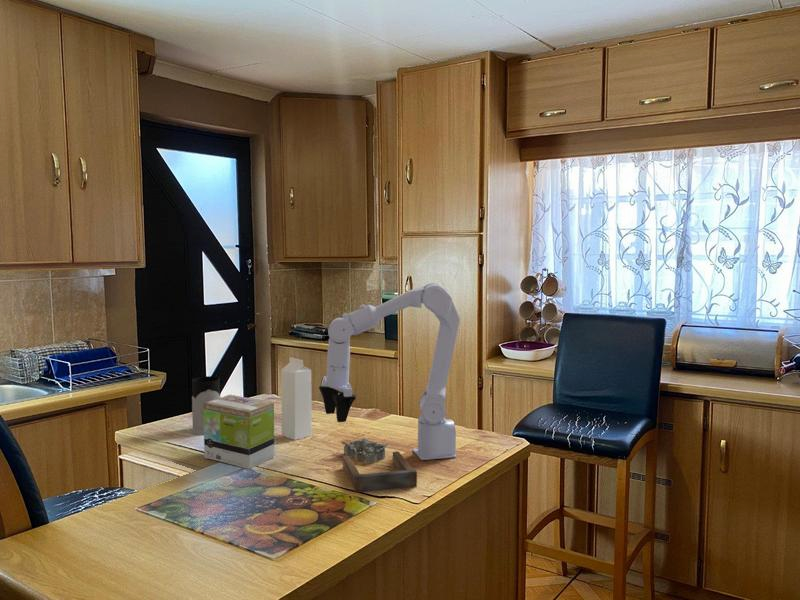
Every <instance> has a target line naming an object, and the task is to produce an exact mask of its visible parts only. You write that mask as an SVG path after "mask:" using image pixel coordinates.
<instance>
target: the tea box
mask: <svg viewBox="0 0 800 600" xmlns="http://www.w3.org/2000/svg"><path fill="white" fill-rule="evenodd" d="M203 407H204V408H203V412H204V435H203V443H204V444H203V445H204V448H203V449H204V458H205V459H208V460H212V461H218V462H222V463H225V464H229V465H232V466H236V467H240V468H243V469H246V470H250V469H252V468H254V467H257V466H259V465H262V464H263V463H265V462H267V461H269V460H271V459H273V458H274V457H275V402H272V401H267V400H261V399H257V398H256V399H255V398H250V397H244V396H241V395H240V396H239V395H235V394H234V395H233V394H228V395H225V396H222V397H221V398H218V399H215V400H212V401H209V402H206V403H203Z"/></svg>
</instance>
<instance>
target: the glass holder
mask: <svg viewBox="0 0 800 600" xmlns="http://www.w3.org/2000/svg"><path fill="white" fill-rule="evenodd" d="M220 379H221V378H220V377H218V376H214V375H213V376H210V375H209V376H199V377H195V378H192V380H191V382H192V384H191V385H192V386H191V387H192V396H191V403H192V404H191V410H192V411H191V412H192V413H191V415H192V427H191V431H190V432H191V434H194V435H197V436H198V435H199V436H204V412H203V408H204V407H203V403H206V402H209V401H212V400H215V399H218V398H221V396H222V395H221V387H220V385H221V384H220Z"/></svg>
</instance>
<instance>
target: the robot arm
mask: <svg viewBox="0 0 800 600" xmlns="http://www.w3.org/2000/svg"><path fill="white" fill-rule="evenodd" d="M422 304H423V306H424V307H425V308H426V309H427V310H429V312H431V313H433V314H434V316H435V317H436V319H438V321H439V326H438V327H439V328H438V331H437V336H436V341H435V347H434V351H433V356H432V361H431V366H430V370H429V376H428V380H427V383H426V386H425V388H424V389H425V390H424V392H423V393H422V394H421V396H420V398H419V401H418V406H419V408H420V413H421V414H420V415H419V417H418V418H417V447H415V448H412V451H413V452H414V454H415V455H416V456H417V457H418V458H419V459H420V460H421V461H425V460H426V461H427V460H436V459H437V460H439V459H451V458H457V454H456V452H457V451H456V448H457V447H456V444H457V443H456V440H457V432H456V431H457V430H456V424H455V422H454V421H453V419H447V418H446V415H447V408H446V404H445V403H446V402H445V401H446V391H447V390H446V389H447V382H448V379H449V374H450V369H451V365H452V360H453V355H454V351H455V346H456V345H455V344H456V341H457V335H458V332H459V331H458V330H459V326H460V315H459V313H458V311H457V309H456V306H455V304H454V301H453V299H452V297H451V295H450V293H448V292H447V291H446V289H445V288H443V287H442V286H441V285H439V284H438V283H434V282H429V283H427V284H426V285H424V286H419V287H415V288H412V289H410V290H407V291H405V292H403V293H401V294H399V295H398V296H395V297H394V298H391V299H389V300H387V301H386V302H383V303H381V304H379V305H377V306H373V305H372V304H367V305H365V304H364V303H363V304H361V305H359V306H358V307H359V308H358V309H356V310H353V311H352V312H349V313H346V312H345V313H342V315H341V316H342V317H337V318H335V319H333V320H332V321H331V323H330V324H329V326H328V329H327V333H328V337H329V338H328V343H327V344H328V346H327V356H326V357H327V358H326V376H325V375H324V376H322V382H321V386H319V387H318V389H319V391H320V394H321V397H322V401H323V406H324V411H325V413H326V415H332V414H335V412H336V421H337V423H345V422H347V419H348V416H349V413H350V409H351V407H352V405H353V403H354V401H355V400H356V398H357V397H356V395H355V394H353V390H354V389H353V388H352V386H351V383H350V382H349V381H350V363H351V347H350V343H351V341H350V340H351V337H352V336H357V335H359V334H362V333H364V332H366V331H368V330H370V329H373V328H374V327H377V326H379V325H380V321H381V319H383V318H385V317H387V316H390V315H392V314H395V313H397V312H399V311H402V310H405V309H407V308H409V307H411V308H420V309H421V308H422Z"/></svg>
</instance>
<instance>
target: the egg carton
mask: <svg viewBox="0 0 800 600" xmlns="http://www.w3.org/2000/svg"><path fill="white" fill-rule="evenodd" d="M341 444H343V445H344V447H343V455H344V454H345V455H344V456H352V457H351V458H354V457H355V458H354V460H355V459H356V460H355V461H364V463H365V462H366V463H365V464H370V463H369V462H374V463H373V464H376V463H378V460H384V458H385V459H386V449H387V446H388V443H387V444H383V443H382V444H381V443H379V442H377V441H375V442H374V441H370V440H368V439H366V438H360V439H358V440H357V439H356V440H354V441H350V443H348V442H345V441H341ZM360 449H363V450H360ZM375 462H376V463H375Z"/></svg>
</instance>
